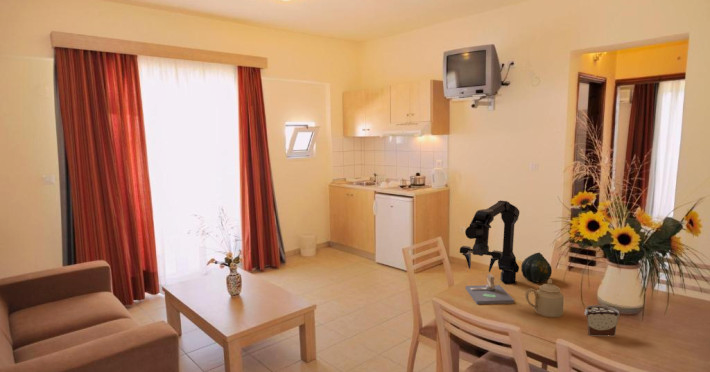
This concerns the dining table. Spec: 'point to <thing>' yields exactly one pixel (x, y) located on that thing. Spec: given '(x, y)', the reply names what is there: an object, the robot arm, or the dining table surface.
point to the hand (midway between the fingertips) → (479, 270)
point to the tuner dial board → (489, 295)
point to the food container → (601, 320)
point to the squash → (536, 268)
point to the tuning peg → (488, 283)
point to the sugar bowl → (547, 300)
